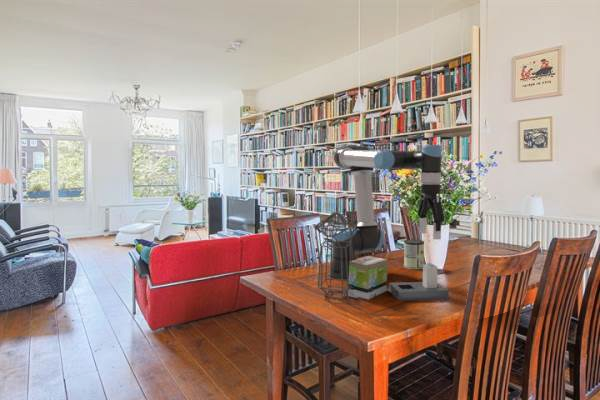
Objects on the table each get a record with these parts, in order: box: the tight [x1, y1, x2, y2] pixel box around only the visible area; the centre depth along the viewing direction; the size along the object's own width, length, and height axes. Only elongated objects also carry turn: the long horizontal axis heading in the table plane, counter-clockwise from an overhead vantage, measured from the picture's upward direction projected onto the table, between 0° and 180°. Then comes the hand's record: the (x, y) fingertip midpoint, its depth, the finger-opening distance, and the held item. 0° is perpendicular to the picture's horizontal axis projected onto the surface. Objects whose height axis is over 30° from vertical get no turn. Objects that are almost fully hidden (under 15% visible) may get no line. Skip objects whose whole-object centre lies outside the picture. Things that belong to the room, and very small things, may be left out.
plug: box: [422, 262, 438, 288], centre depth 153 cm, size 4×4×13 cm
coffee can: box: [403, 238, 425, 270], centre depth 202 cm, size 10×10×14 cm
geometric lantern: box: [312, 211, 358, 300], centre depth 155 cm, size 16×16×35 cm
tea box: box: [347, 255, 388, 300], centre depth 156 cm, size 15×10×15 cm, turn 139°
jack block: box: [388, 281, 450, 302], centre depth 153 cm, size 20×12×4 cm, turn 94°
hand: (429, 236), depth 153 cm, fingers open, 13 cm apart
